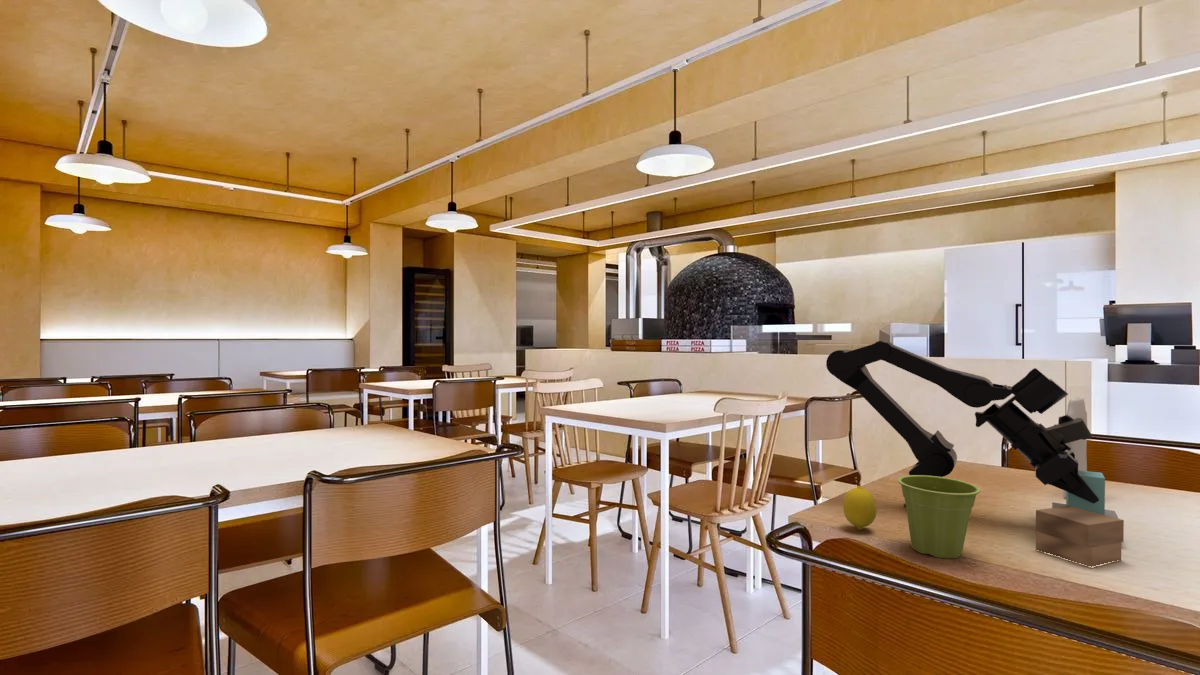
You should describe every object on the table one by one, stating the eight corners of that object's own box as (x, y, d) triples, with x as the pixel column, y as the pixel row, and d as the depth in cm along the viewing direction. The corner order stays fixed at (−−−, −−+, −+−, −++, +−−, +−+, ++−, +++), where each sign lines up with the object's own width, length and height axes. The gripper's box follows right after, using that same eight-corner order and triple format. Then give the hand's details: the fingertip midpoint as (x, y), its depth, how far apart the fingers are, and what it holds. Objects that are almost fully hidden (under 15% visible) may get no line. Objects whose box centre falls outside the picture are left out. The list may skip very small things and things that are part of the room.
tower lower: (1035, 552, 99) (1036, 531, 98) (1065, 546, 102) (1065, 525, 102) (1091, 570, 91) (1091, 548, 91) (1121, 562, 94) (1121, 540, 94)
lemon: (874, 526, 110) (874, 483, 110) (877, 536, 105) (878, 491, 105) (842, 523, 112) (842, 481, 112) (844, 532, 107) (844, 488, 107)
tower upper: (1035, 530, 99) (1036, 510, 99) (1069, 526, 101) (1069, 505, 101) (1088, 547, 91) (1088, 524, 91) (1123, 542, 94) (1123, 520, 94)
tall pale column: (1071, 490, 136) (1072, 394, 136) (1094, 494, 133) (1095, 396, 133) (1056, 498, 130) (1057, 397, 130) (1079, 502, 126) (1080, 399, 126)
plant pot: (946, 570, 90) (946, 496, 90) (881, 544, 101) (881, 478, 101) (996, 558, 95) (997, 488, 95) (929, 535, 106) (930, 472, 106)
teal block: (1067, 513, 106) (1068, 474, 106) (1066, 506, 110) (1066, 468, 110) (1104, 518, 103) (1105, 478, 103) (1101, 511, 107) (1101, 472, 107)
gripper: (1060, 407, 101) (1147, 481, 94) (1055, 397, 116) (1130, 461, 110) (1004, 448, 105) (1083, 521, 99) (1006, 433, 121) (1075, 496, 114)
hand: (1095, 498), depth 105 cm, fingers closed on teal block, 5 cm apart
